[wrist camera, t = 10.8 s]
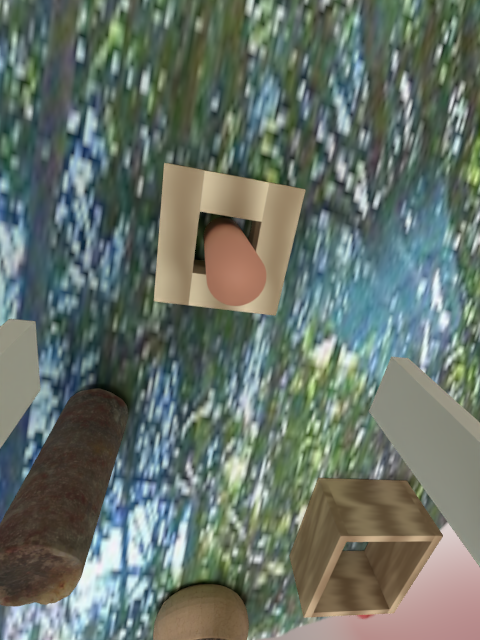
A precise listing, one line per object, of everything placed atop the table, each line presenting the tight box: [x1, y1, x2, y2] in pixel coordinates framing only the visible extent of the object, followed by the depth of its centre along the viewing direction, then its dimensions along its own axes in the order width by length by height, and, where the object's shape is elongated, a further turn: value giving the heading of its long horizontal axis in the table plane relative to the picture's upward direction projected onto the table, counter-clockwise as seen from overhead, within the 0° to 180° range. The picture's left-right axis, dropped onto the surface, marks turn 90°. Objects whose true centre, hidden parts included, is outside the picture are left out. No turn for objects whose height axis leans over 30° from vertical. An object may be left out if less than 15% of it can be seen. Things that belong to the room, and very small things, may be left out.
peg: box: [203, 217, 266, 306], centre depth 28 cm, size 4×4×14 cm
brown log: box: [0, 389, 128, 606], centre depth 33 cm, size 8×7×20 cm
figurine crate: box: [290, 478, 443, 617], centre depth 53 cm, size 15×19×9 cm
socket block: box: [154, 163, 305, 315], centre depth 32 cm, size 12×12×5 cm
